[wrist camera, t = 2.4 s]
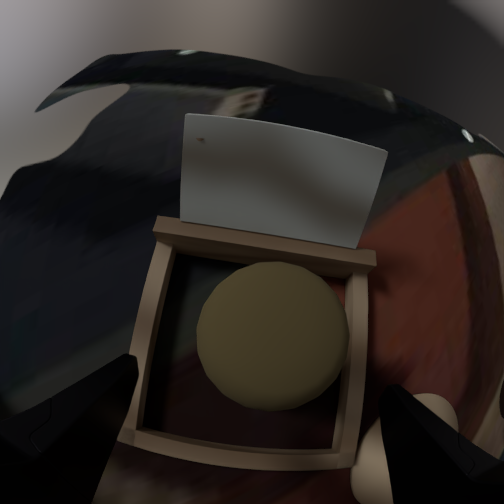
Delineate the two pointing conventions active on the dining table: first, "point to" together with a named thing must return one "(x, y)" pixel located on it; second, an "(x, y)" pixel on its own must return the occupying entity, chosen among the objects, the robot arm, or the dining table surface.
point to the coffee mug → (502, 400)
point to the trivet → (374, 459)
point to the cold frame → (265, 256)
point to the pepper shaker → (273, 336)
